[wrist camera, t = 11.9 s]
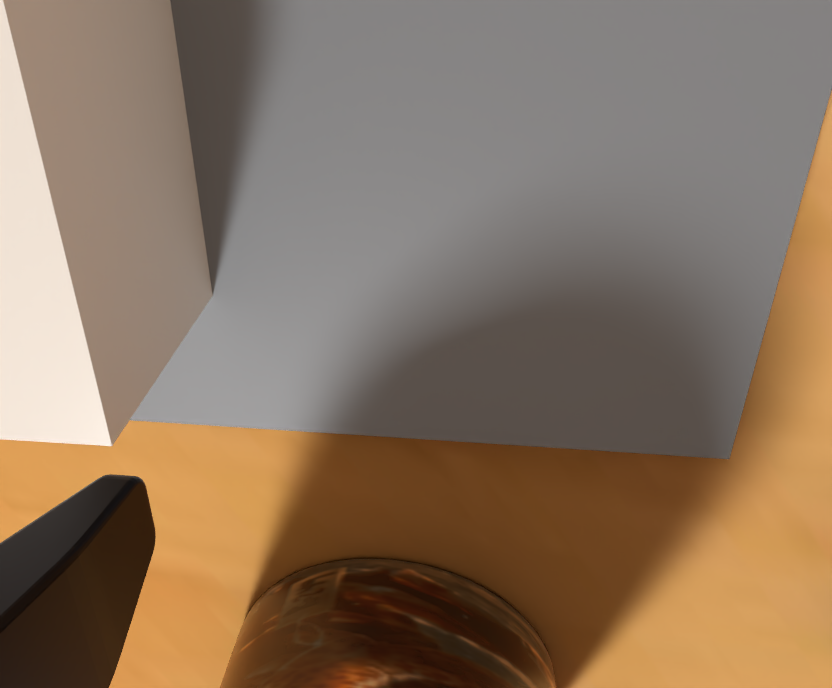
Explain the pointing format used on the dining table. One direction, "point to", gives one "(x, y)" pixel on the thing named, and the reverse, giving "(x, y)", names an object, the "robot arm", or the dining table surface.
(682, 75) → the board
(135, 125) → the housing
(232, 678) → the jar
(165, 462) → the dining table surface
